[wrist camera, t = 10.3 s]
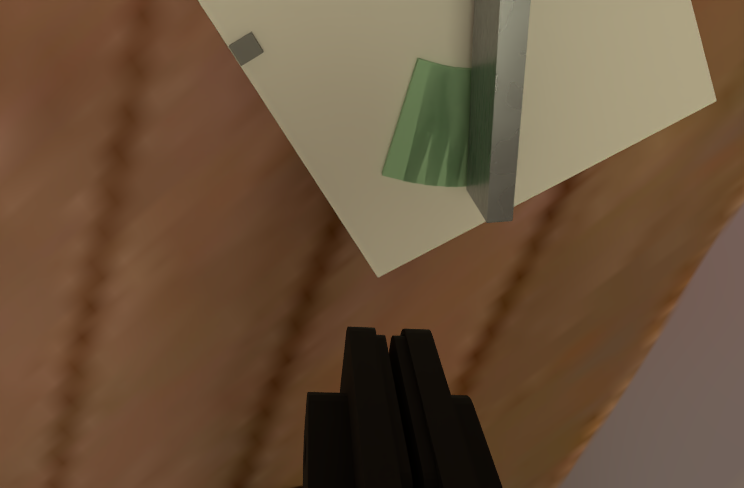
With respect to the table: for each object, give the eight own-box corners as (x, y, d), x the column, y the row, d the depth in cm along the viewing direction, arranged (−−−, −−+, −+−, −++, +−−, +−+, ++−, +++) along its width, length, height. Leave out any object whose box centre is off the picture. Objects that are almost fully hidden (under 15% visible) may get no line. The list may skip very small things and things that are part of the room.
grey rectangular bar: (507, 186, 31) (533, 219, 27) (447, 191, 31) (465, 224, 27) (533, -148, 24) (572, -162, 20) (456, -145, 24) (481, -160, 20)
